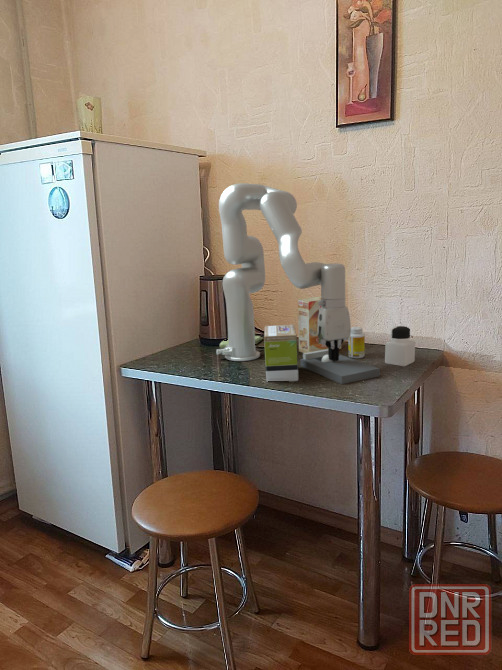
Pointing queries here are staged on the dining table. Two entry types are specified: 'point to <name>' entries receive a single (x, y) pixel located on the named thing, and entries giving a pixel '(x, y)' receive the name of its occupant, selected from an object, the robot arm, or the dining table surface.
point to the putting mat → (338, 367)
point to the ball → (326, 358)
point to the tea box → (281, 353)
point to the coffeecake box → (309, 325)
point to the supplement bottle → (356, 343)
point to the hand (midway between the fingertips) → (333, 359)
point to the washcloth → (224, 343)
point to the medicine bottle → (400, 347)
